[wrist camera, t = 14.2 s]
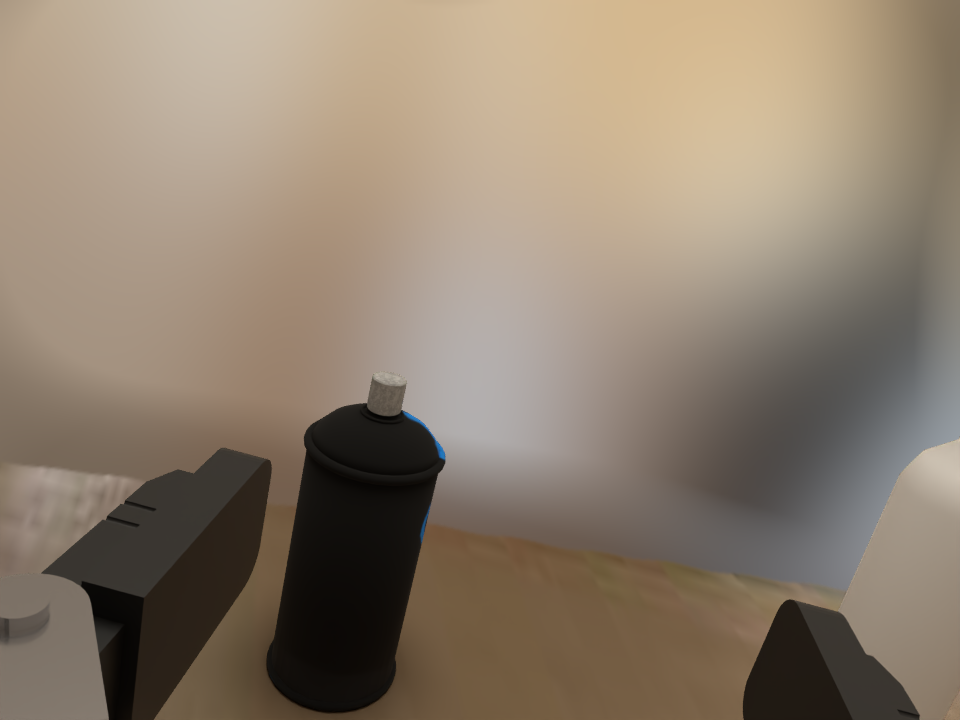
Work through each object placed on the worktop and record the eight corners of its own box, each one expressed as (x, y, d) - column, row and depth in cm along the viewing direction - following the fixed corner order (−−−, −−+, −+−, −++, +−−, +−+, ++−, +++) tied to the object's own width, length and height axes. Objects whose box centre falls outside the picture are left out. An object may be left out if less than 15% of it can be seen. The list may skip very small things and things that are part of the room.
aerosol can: (308, 734, 43) (371, 417, 36) (242, 644, 48) (288, 354, 42) (420, 682, 48) (491, 401, 42) (350, 607, 54) (404, 347, 48)
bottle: (846, 807, 47) (1071, 361, 37) (764, 709, 54) (937, 312, 44) (936, 791, 50) (1164, 375, 40) (847, 701, 57) (1024, 327, 47)
